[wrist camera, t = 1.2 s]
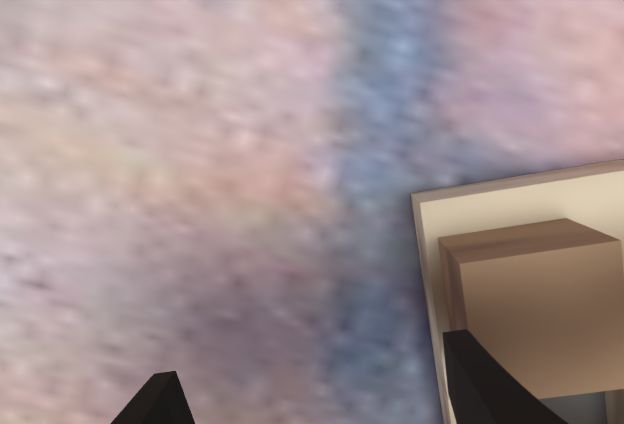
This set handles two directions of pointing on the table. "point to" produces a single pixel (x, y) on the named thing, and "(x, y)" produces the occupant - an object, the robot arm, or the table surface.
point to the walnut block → (541, 303)
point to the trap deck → (511, 212)
